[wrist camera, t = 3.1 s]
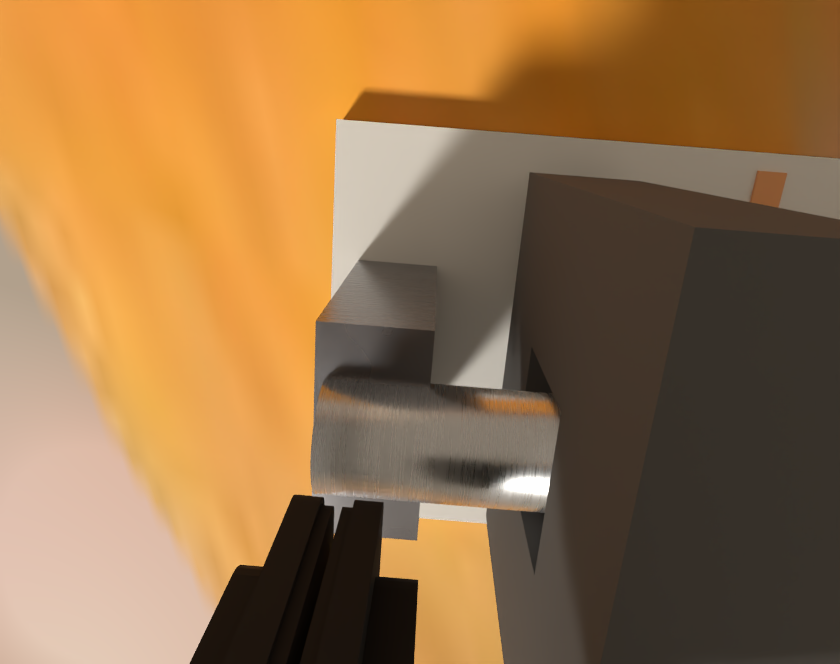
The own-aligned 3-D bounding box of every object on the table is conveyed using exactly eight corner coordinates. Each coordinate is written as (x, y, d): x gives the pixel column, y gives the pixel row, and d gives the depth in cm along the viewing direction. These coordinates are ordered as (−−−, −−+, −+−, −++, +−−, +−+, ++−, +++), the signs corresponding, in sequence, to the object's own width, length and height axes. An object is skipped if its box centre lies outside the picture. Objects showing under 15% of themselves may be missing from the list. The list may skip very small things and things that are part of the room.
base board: (942, 167, 18) (973, 168, 17) (819, 534, 22) (838, 554, 21) (341, 120, 18) (335, 118, 17) (330, 493, 22) (324, 511, 21)
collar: (639, 180, 16) (1007, 252, 6) (576, 523, 20) (734, 964, 9) (529, 172, 16) (695, 227, 6) (486, 515, 20) (538, 947, 9)
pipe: (896, 302, 18) (1226, 418, 10) (847, 449, 19) (1104, 642, 12) (358, 259, 18) (300, 343, 11) (351, 408, 20) (297, 574, 12)
